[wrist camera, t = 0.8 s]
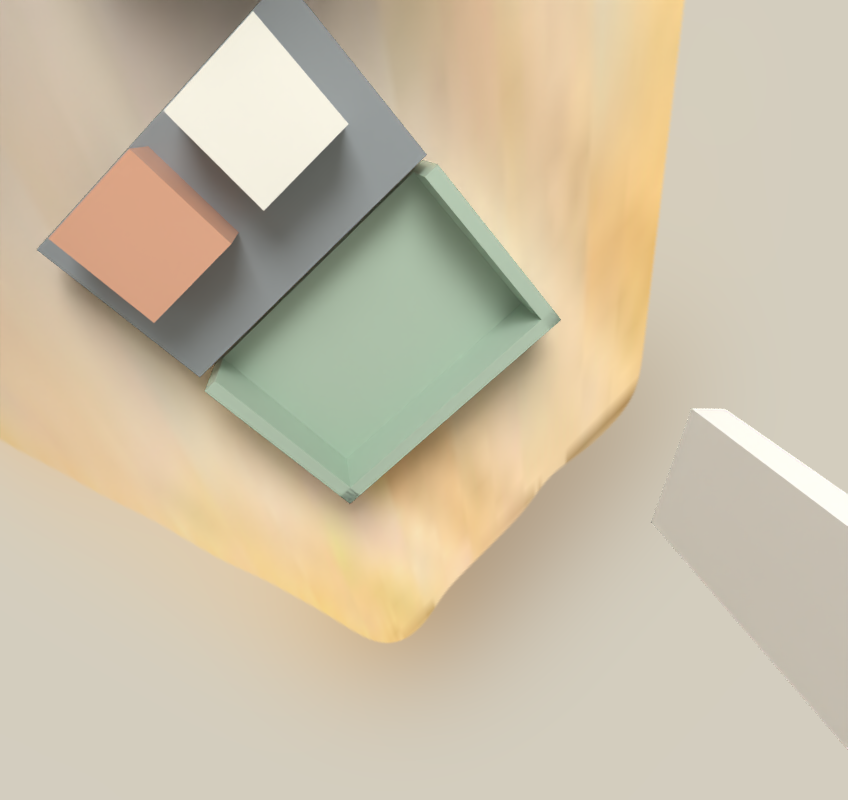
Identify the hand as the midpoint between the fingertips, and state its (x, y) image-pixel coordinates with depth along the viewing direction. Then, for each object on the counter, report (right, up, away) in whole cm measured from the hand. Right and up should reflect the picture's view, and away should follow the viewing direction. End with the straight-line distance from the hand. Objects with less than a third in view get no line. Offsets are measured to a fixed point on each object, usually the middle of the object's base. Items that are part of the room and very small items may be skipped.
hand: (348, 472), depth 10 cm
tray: (-1, +5, +24) cm, 24 cm away
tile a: (-11, +9, +16) cm, 22 cm away
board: (-8, +12, +19) cm, 24 cm away
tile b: (-6, +14, +15) cm, 21 cm away
